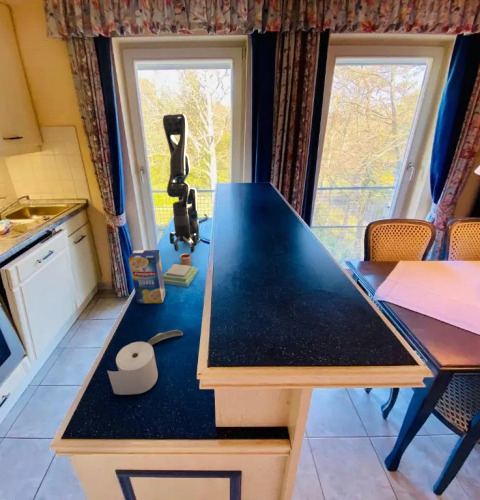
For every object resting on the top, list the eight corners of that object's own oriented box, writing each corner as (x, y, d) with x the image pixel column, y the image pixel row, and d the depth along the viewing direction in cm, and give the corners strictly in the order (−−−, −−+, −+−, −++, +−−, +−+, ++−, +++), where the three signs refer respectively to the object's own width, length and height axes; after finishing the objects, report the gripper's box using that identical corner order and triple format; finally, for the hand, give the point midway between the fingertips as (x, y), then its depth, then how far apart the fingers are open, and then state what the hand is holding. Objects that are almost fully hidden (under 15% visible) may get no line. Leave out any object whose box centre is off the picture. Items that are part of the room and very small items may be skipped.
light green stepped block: (172, 268, 146) (172, 262, 144) (197, 271, 142) (197, 265, 140) (160, 283, 134) (159, 276, 132) (187, 286, 130) (186, 280, 128)
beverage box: (141, 293, 126) (133, 250, 116) (165, 293, 126) (159, 249, 116) (137, 303, 120) (127, 258, 110) (162, 303, 120) (155, 257, 110)
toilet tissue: (163, 368, 89) (159, 344, 84) (145, 402, 78) (139, 377, 74) (134, 362, 91) (128, 338, 87) (112, 394, 81) (105, 370, 77)
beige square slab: (174, 266, 142) (174, 263, 141) (191, 268, 139) (190, 265, 138) (166, 275, 134) (166, 272, 133) (184, 277, 131) (183, 275, 131)
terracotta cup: (183, 261, 153) (182, 253, 150) (192, 262, 151) (191, 254, 149) (179, 266, 148) (178, 257, 146) (188, 267, 146) (188, 259, 144)
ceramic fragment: (145, 349, 96) (143, 341, 94) (142, 339, 100) (141, 331, 99) (184, 337, 101) (183, 329, 99) (180, 328, 105) (179, 320, 103)
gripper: (197, 220, 140) (199, 249, 147) (171, 219, 144) (175, 247, 151) (192, 226, 134) (194, 256, 141) (165, 224, 138) (169, 253, 145)
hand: (184, 251), depth 146 cm, fingers open, 8 cm apart
